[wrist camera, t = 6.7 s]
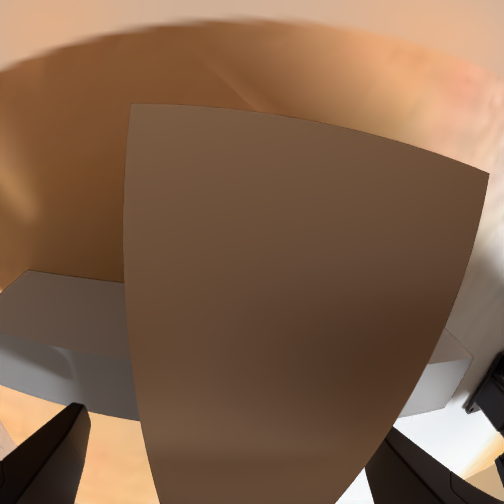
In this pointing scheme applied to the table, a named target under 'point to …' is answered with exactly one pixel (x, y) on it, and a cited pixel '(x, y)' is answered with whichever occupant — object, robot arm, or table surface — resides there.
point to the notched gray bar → (125, 348)
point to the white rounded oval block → (5, 442)
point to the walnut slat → (281, 295)
